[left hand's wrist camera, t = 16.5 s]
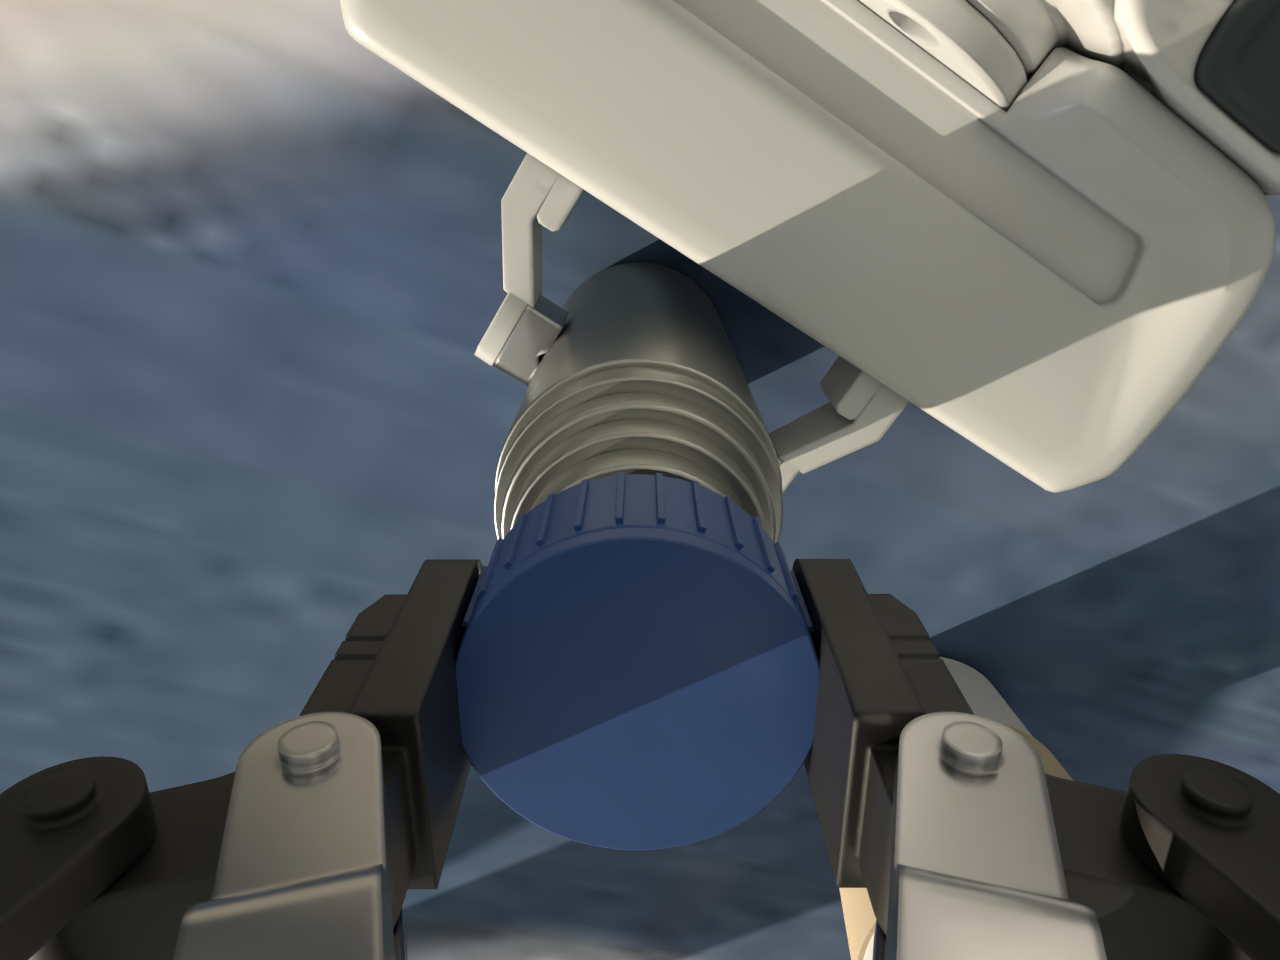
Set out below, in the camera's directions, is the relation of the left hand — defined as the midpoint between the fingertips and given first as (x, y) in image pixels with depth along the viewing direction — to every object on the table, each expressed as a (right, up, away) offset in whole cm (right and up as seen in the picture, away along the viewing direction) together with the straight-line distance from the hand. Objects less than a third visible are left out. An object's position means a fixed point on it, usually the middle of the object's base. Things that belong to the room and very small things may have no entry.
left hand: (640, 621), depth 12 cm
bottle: (0, +6, +15) cm, 17 cm away
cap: (0, -1, -2) cm, 2 cm away
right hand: (0, +3, +10) cm, 10 cm away
